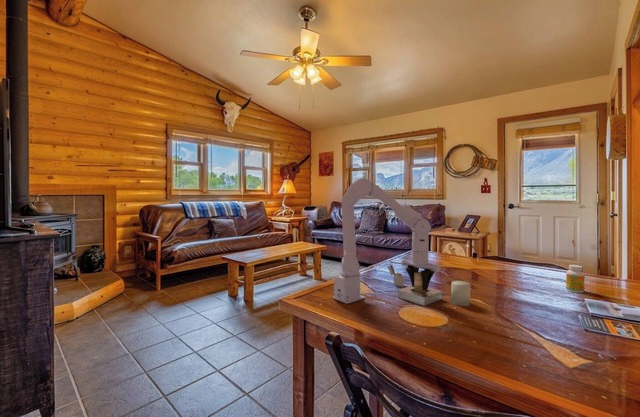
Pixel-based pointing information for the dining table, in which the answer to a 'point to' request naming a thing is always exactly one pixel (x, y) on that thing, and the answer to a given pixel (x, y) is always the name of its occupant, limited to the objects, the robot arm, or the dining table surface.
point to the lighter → (396, 276)
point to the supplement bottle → (575, 279)
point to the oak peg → (418, 283)
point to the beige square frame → (420, 296)
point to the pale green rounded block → (460, 293)
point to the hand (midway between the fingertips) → (419, 288)
